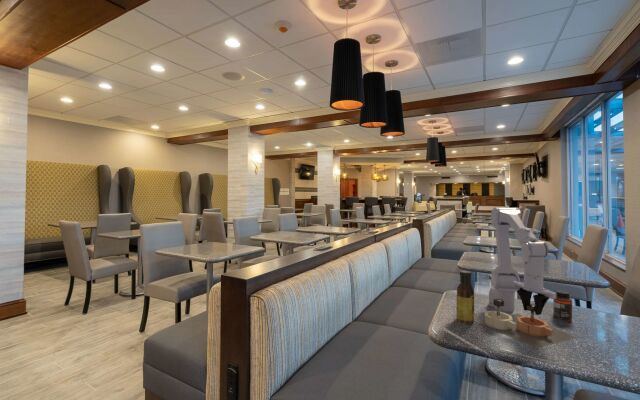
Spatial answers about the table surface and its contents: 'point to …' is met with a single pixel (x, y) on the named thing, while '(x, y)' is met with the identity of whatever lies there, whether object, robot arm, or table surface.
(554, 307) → the supplement bottle
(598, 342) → the table surface
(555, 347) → the table surface
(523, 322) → the terracotta pot
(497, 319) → the cream pot
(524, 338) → the slate board
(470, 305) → the sauce bottle
